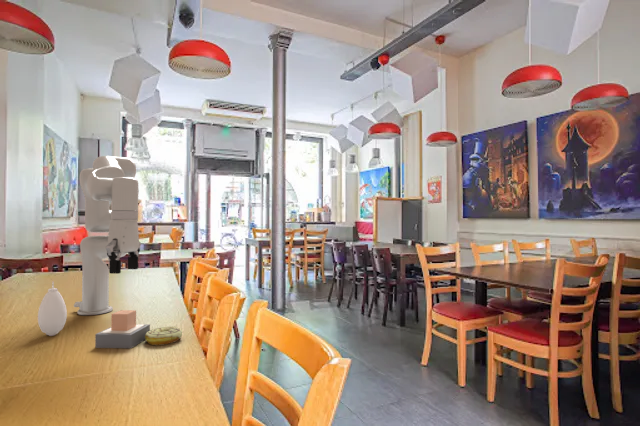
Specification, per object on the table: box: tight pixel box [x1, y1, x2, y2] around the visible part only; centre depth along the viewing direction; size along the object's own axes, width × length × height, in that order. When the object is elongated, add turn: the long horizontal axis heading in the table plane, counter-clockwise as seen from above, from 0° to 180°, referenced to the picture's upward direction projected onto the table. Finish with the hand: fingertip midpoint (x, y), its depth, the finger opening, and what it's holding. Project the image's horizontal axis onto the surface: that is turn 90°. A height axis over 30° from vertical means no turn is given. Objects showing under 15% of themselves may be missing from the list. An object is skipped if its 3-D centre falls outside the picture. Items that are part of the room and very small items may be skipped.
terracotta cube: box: [110, 309, 137, 331], centre depth 117 cm, size 5×5×5 cm
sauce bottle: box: [37, 281, 68, 337], centre depth 124 cm, size 8×8×18 cm
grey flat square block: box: [94, 323, 151, 349], centre depth 117 cm, size 11×11×4 cm
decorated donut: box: [145, 326, 183, 346], centre depth 118 cm, size 10×11×4 cm
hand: (124, 271), depth 117 cm, fingers open, 9 cm apart
